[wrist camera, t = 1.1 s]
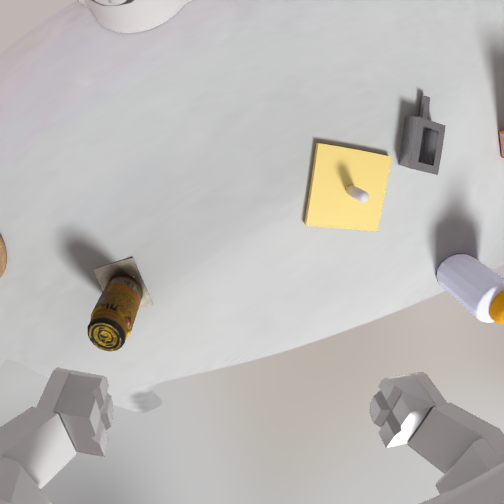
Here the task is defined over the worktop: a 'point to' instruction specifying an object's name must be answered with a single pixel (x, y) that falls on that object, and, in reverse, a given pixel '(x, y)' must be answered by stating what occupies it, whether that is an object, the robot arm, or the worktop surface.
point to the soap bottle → (474, 286)
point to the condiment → (117, 304)
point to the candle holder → (2, 256)
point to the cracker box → (502, 142)
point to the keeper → (346, 188)
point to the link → (414, 138)
